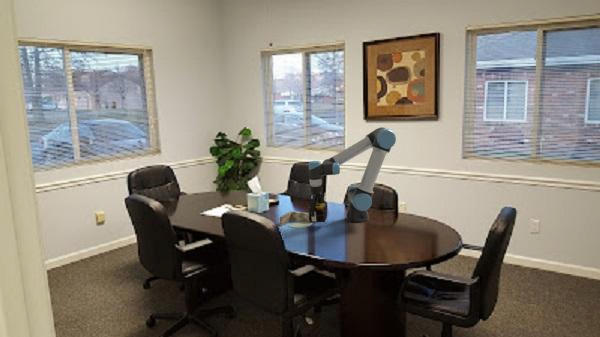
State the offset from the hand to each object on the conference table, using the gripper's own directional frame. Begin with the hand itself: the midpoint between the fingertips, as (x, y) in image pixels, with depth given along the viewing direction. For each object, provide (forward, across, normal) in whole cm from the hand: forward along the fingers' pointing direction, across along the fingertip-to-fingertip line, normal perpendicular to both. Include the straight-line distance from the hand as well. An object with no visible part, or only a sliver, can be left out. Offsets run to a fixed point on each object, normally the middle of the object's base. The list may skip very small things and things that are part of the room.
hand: (318, 218), depth 291 cm
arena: (+5, -1, -15) cm, 16 cm away
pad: (+5, 0, -13) cm, 14 cm away
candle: (+1, 0, 0) cm, 1 cm away
